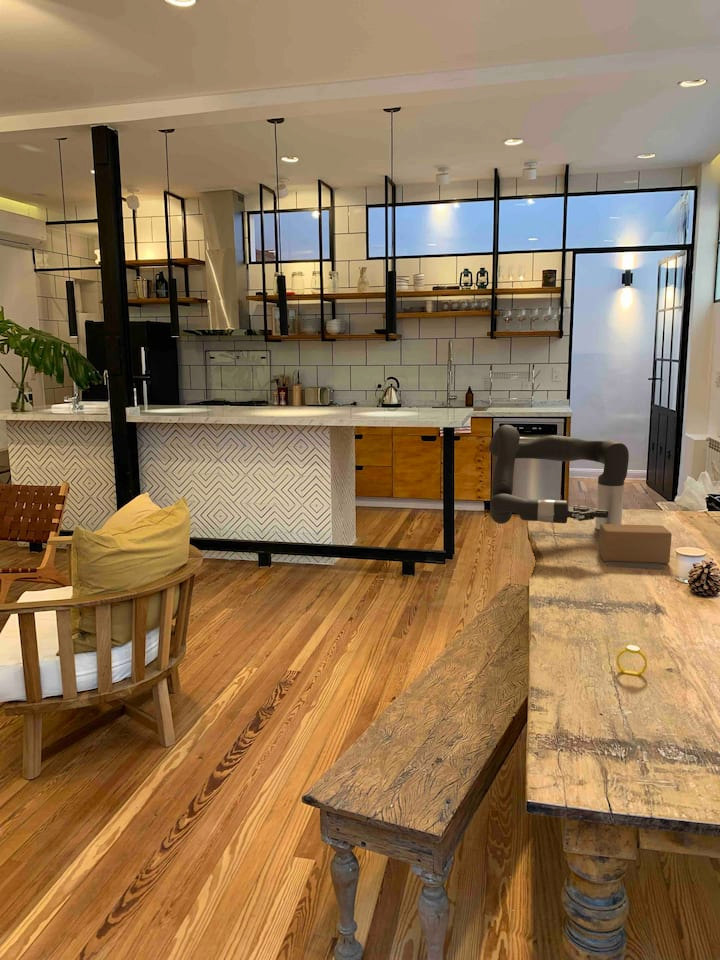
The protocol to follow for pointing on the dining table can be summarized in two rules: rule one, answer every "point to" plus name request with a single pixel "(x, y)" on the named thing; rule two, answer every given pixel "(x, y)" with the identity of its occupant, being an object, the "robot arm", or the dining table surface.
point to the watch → (632, 650)
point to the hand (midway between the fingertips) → (608, 514)
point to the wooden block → (635, 543)
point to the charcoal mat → (636, 565)
